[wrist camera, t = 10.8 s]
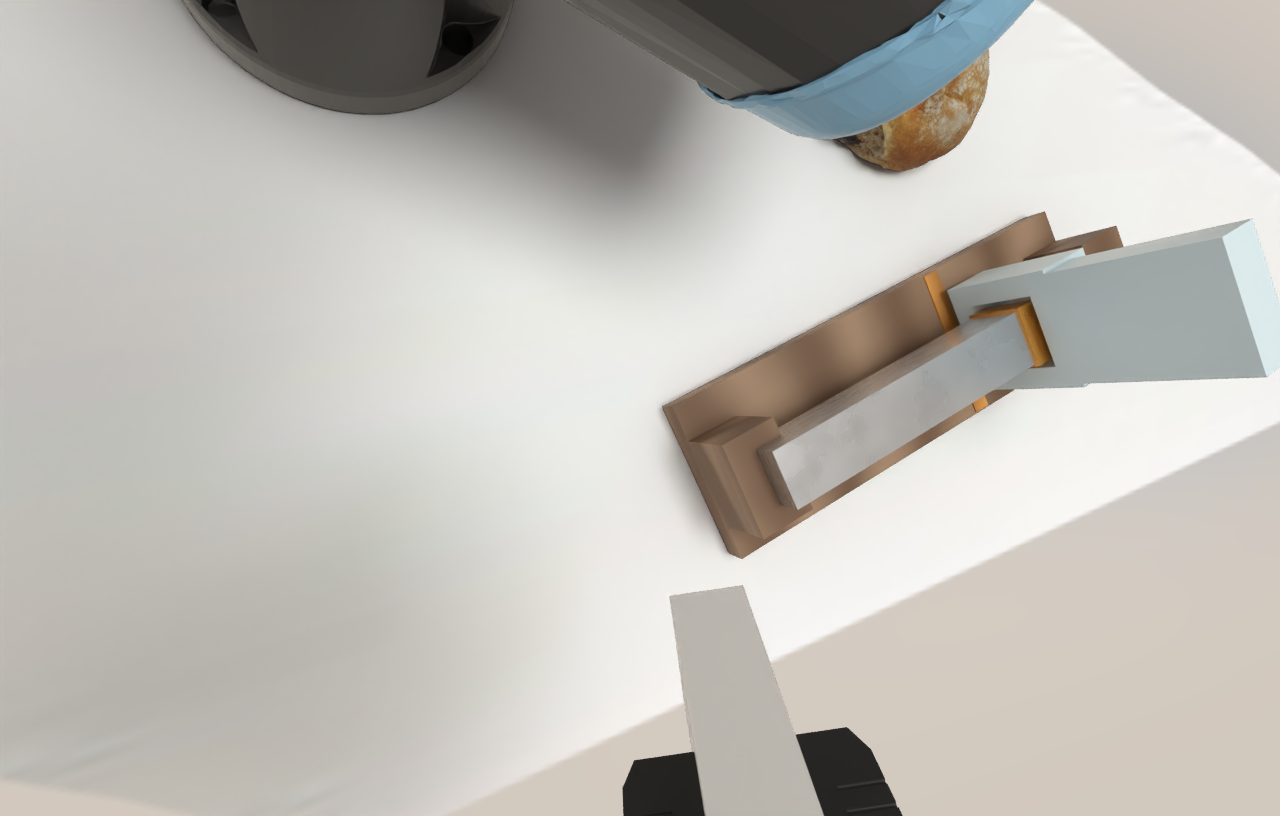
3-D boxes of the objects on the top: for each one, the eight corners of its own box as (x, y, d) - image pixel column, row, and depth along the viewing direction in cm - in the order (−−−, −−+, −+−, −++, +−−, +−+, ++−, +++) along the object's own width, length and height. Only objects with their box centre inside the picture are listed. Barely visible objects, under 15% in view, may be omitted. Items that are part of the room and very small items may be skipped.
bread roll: (892, 191, 47) (1022, 153, 41) (809, 175, 40) (952, 126, 34) (875, 40, 47) (1005, -20, 41) (788, -4, 39) (930, -84, 34)
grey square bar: (765, 504, 35) (800, 513, 32) (738, 445, 35) (772, 449, 32) (1095, 305, 43) (1150, 297, 40) (1077, 254, 42) (1132, 242, 39)
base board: (729, 553, 39) (780, 575, 34) (662, 406, 38) (704, 406, 33) (1070, 344, 47) (1153, 336, 42) (1024, 217, 46) (1105, 193, 41)
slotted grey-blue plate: (985, 390, 42) (1268, 381, 28) (947, 290, 41) (1220, 232, 27) (1020, 368, 43) (1311, 350, 29) (983, 270, 42) (1266, 204, 28)
